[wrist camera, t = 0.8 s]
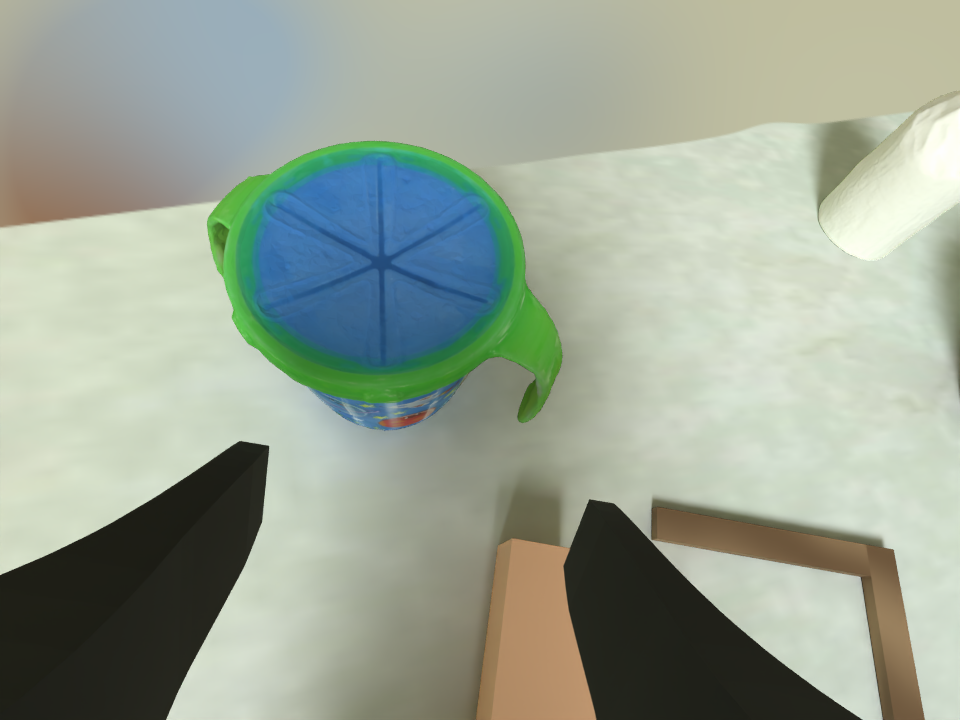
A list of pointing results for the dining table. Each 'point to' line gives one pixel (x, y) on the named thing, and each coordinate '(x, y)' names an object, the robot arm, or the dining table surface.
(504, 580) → the T block
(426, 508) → the dining table surface
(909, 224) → the white piece
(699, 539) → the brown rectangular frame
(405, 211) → the snack cup
